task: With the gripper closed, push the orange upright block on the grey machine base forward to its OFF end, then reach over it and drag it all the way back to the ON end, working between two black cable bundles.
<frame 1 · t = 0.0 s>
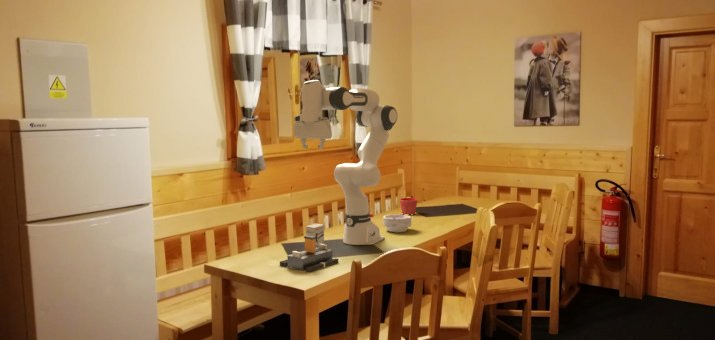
hand: (312, 148, 241), 48 cm above the table, fingers open, 8 cm apart
grey machine base: (310, 264, 231), on the table
orange upright block: (310, 244, 230), point 9 cm above the table, slide at 6.0 cm
ink box: (315, 250, 255), on the table
flower pot: (408, 214, 341), on the table
paper bowls: (397, 231, 295), on the table
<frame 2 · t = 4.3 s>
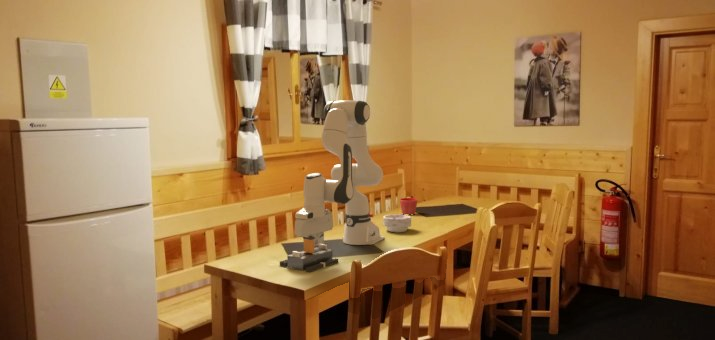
hand: (314, 243, 232), 8 cm above the table, fingers closed
orange upright block: (308, 244, 230), point 9 cm above the table, slide at 6.8 cm, touching gripper
everything else where it was.
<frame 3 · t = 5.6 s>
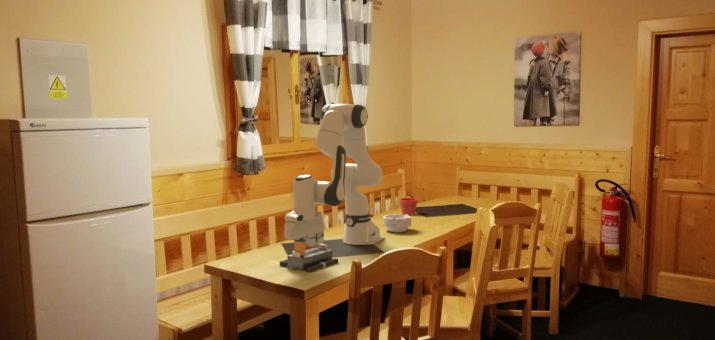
hand: (305, 246, 228), 8 cm above the table, fingers closed
orange upright block: (299, 246, 226), point 9 cm above the table, slide at 12.1 cm, touching gripper
everything else where it was.
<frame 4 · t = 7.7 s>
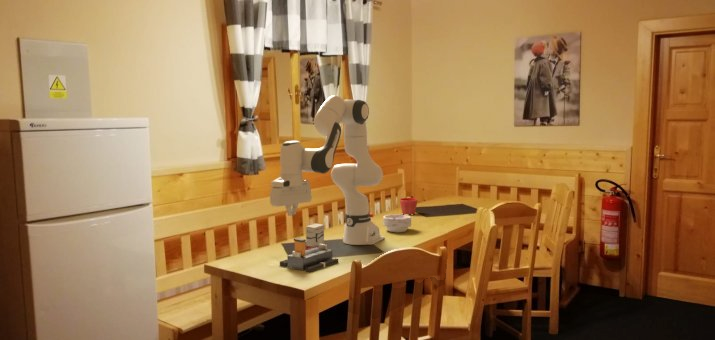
hand: (291, 215, 220), 23 cm above the table, fingers closed
orange upright block: (299, 246, 226), point 9 cm above the table, slide at 12.0 cm
everything else where it was.
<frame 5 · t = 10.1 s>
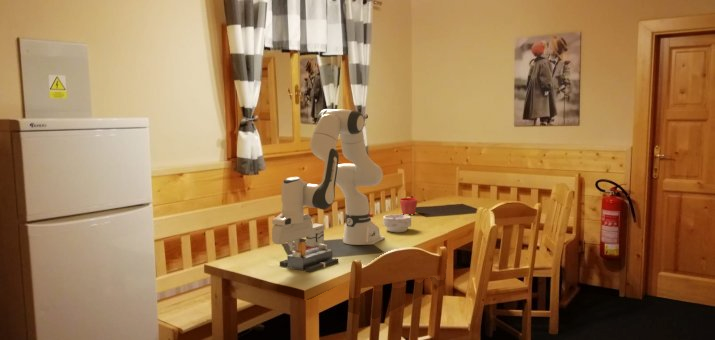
hand: (293, 250, 223), 8 cm above the table, fingers closed
orange upright block: (300, 246, 226), point 9 cm above the table, slide at 11.9 cm, touching gripper
everything else where it was.
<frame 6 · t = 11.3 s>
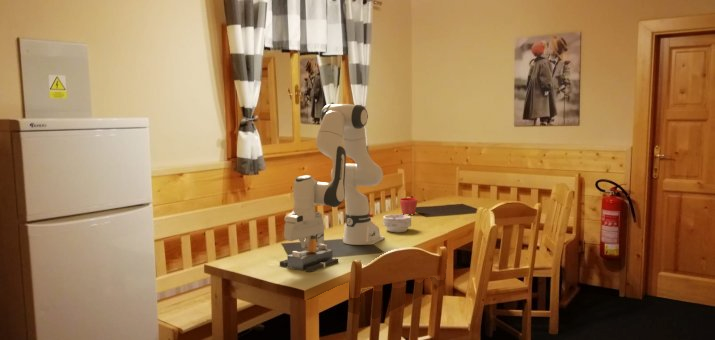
hand: (305, 247, 228), 8 cm above the table, fingers closed
orange upright block: (311, 243, 231), point 9 cm above the table, slide at 5.3 cm, touching gripper
everything else where it was.
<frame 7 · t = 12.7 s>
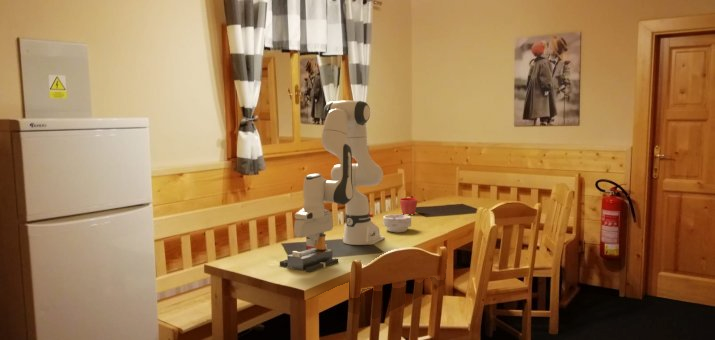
hand: (314, 244, 233), 8 cm above the table, fingers closed
orange upright block: (319, 241, 235), point 9 cm above the table, slide at -0.1 cm, touching gripper
everything else where it was.
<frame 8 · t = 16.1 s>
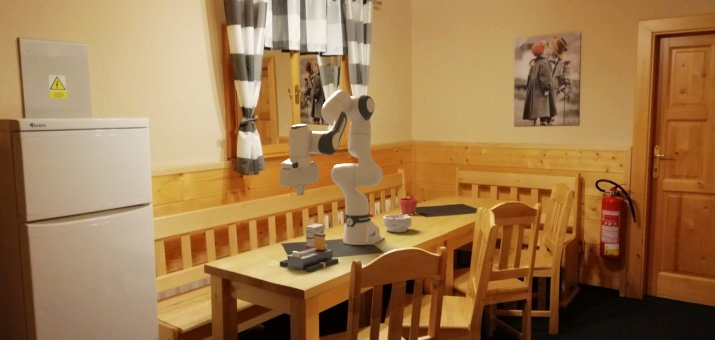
hand: (300, 195, 231), 29 cm above the table, fingers closed
orange upright block: (319, 241, 235), point 9 cm above the table, slide at 0.0 cm
everything else where it was.
at the end: orange upright block slide at 0.0 cm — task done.
